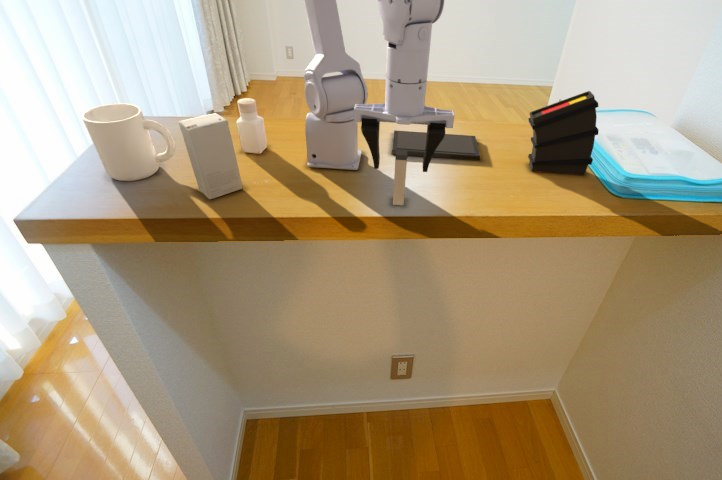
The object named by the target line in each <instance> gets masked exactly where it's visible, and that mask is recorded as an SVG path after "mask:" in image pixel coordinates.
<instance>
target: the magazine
mask: <svg viewBox="0 0 722 480" xmlns="http://www.w3.org/2000/svg"><path fill="white" fill-rule="evenodd" d="M597 108H599V102H598V101H597V100H596V99H595V95H594V93H593V92H591V90H588V91H585V92H582V93H579V94H576V95H574V96H571V97H568V98H565V99H563V100H560V101H557V102H554V103H552V104H551V103H550V104H548V105H546V106H542V107H540V108H538V109H535V110H532V111H530V112H529V117H528V123H529V125H530V127H531V129H532V136H531V137H530V141H531V144H532V149H531V153H528V155H527V158H528V160H529V161H528V167H529V169H530V171H531V172H535V173H551V174H564V175H579V176H585V175H586V173H587V169H588V166H590V165H593V161H594V159H593V157H592V153H593V149H594V145H595V138H596V136H598V135H599V128H598V126H597Z"/></svg>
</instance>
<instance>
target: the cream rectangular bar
mask: <svg viewBox="0 0 722 480" xmlns="http://www.w3.org/2000/svg"><path fill="white" fill-rule="evenodd" d="M394 160H395V161H394V177H393V194H392V205H393V206H404V204H405V191H406V180H407V179H406V178H407V166H408V165H407V163H408V155H407V151H403V150H396V155H395V157H394Z"/></svg>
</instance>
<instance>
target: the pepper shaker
mask: <svg viewBox="0 0 722 480" xmlns="http://www.w3.org/2000/svg"><path fill="white" fill-rule="evenodd" d="M236 102H237V103H236V104H237V108H238V112H239V116H240V117H238V119H237V120H236V127H237V133H238V137H239V143H240V147H241V151H242V152H243V153H249V154H257V155H259V154H262V153H263V152H264V151H265V150H266V148H267V147H268V140H267V134H266V127H265V121H264V118H263V117H262V116H260V115H258V106H257V101H256V100H255V99H254V98H250V97H244V98H240V99H238V100H237V101H236Z"/></svg>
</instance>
